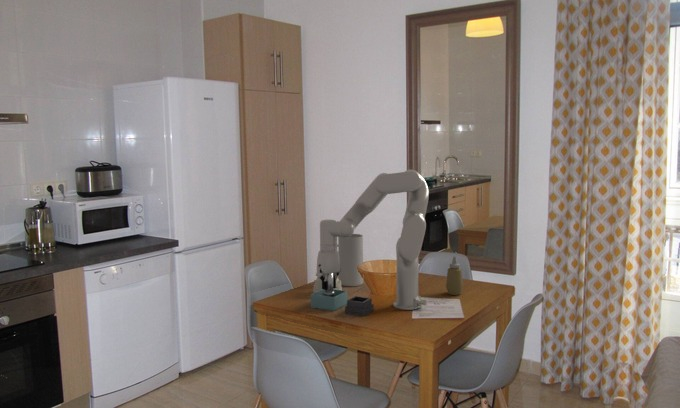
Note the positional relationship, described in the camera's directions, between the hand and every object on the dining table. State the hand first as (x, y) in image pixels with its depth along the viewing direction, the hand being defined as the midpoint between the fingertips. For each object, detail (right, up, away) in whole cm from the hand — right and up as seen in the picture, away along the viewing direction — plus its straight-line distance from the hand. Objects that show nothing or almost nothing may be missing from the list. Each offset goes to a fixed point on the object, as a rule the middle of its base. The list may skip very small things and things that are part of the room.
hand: (328, 288), depth 248 cm
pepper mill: (0, -4, 0) cm, 4 cm away
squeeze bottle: (+59, -6, +18) cm, 62 cm away
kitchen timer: (-1, -6, +21) cm, 22 cm away
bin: (0, -8, +1) cm, 8 cm away
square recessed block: (+13, -9, -9) cm, 18 cm away
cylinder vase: (+11, -4, +40) cm, 41 cm away
